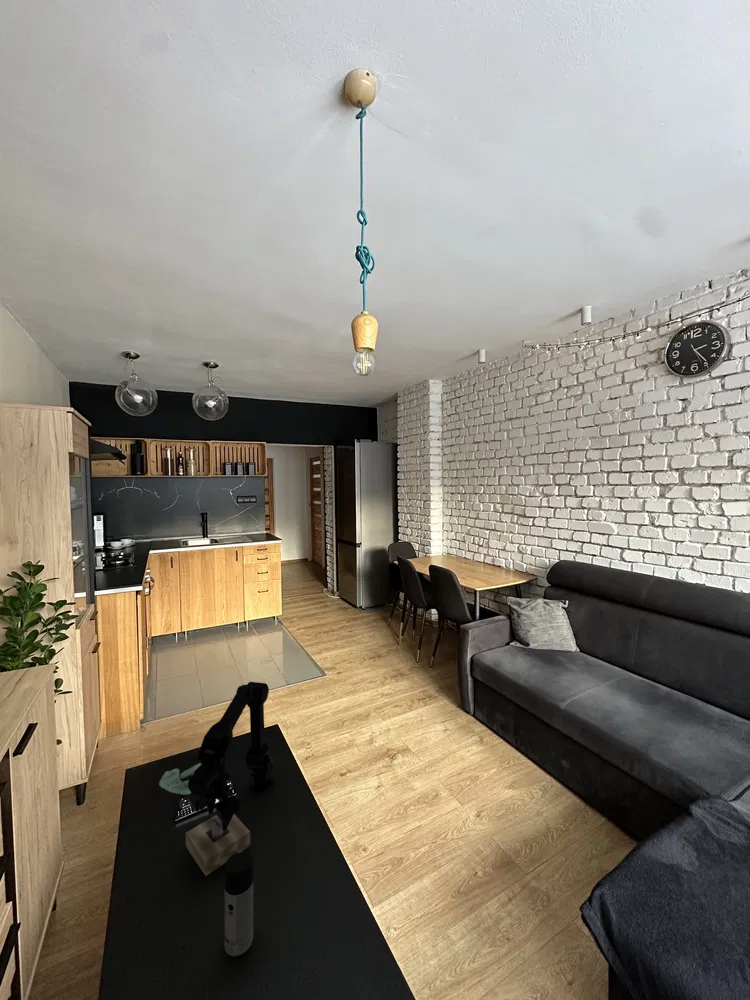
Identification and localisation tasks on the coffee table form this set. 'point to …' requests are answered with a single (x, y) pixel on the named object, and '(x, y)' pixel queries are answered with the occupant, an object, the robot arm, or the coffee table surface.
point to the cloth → (174, 778)
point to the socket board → (216, 844)
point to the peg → (217, 830)
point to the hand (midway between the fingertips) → (217, 821)
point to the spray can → (238, 904)
